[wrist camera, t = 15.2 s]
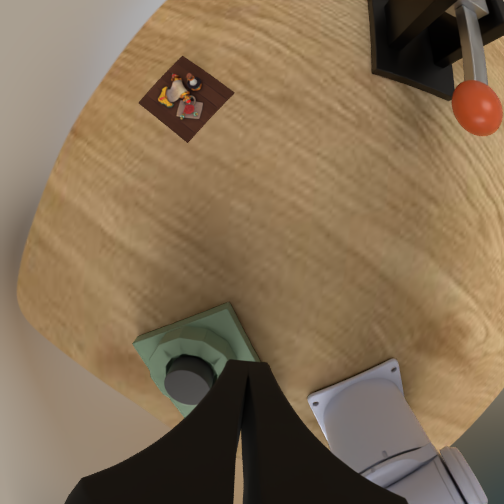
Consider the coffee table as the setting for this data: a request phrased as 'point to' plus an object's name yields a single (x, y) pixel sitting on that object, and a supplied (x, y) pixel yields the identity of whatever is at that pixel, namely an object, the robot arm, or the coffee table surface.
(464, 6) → the lever
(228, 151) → the coffee table surface
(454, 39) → the bracket
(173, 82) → the diorama
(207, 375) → the button
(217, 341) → the control block
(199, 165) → the coffee table surface
